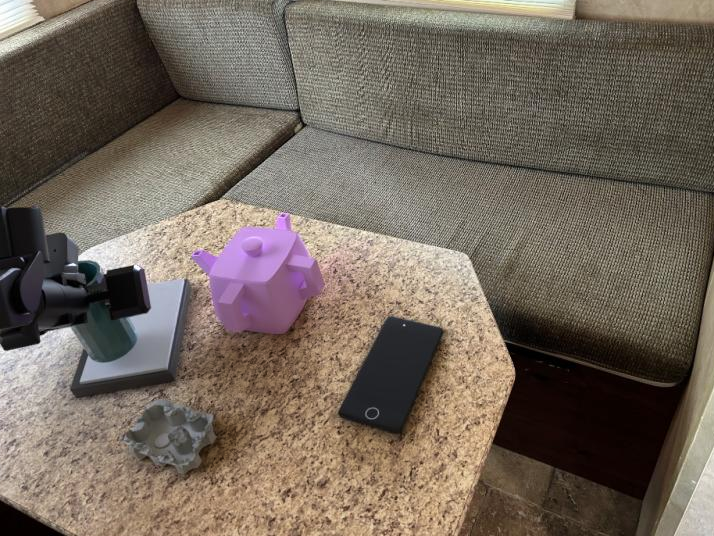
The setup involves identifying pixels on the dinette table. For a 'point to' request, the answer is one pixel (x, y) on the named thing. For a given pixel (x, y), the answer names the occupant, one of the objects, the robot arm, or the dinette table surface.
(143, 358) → the scale
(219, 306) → the teakettle
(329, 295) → the dinette table surface
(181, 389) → the dinette table surface
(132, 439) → the egg carton
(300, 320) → the dinette table surface
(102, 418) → the dinette table surface
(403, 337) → the cell phone
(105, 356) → the tumbler
